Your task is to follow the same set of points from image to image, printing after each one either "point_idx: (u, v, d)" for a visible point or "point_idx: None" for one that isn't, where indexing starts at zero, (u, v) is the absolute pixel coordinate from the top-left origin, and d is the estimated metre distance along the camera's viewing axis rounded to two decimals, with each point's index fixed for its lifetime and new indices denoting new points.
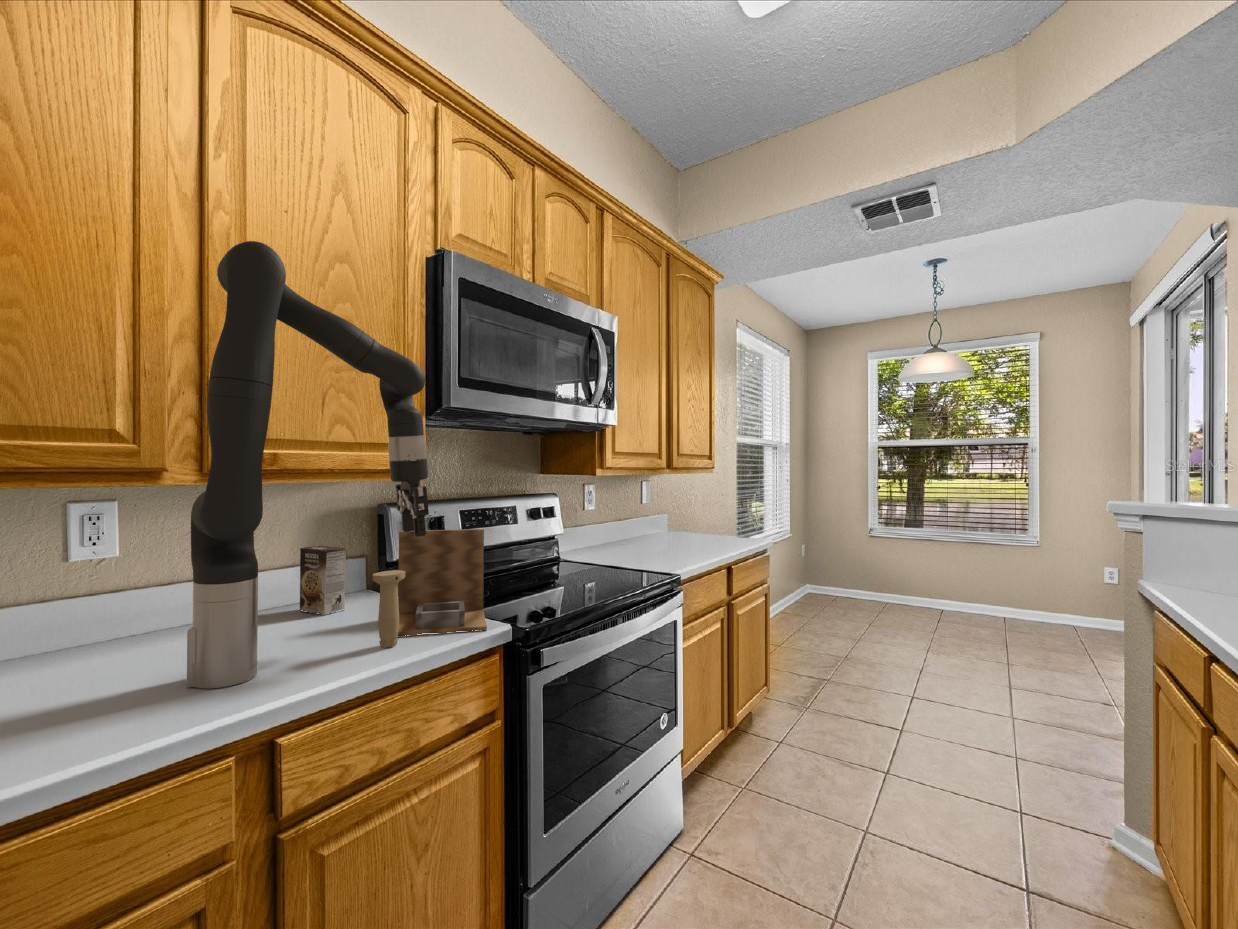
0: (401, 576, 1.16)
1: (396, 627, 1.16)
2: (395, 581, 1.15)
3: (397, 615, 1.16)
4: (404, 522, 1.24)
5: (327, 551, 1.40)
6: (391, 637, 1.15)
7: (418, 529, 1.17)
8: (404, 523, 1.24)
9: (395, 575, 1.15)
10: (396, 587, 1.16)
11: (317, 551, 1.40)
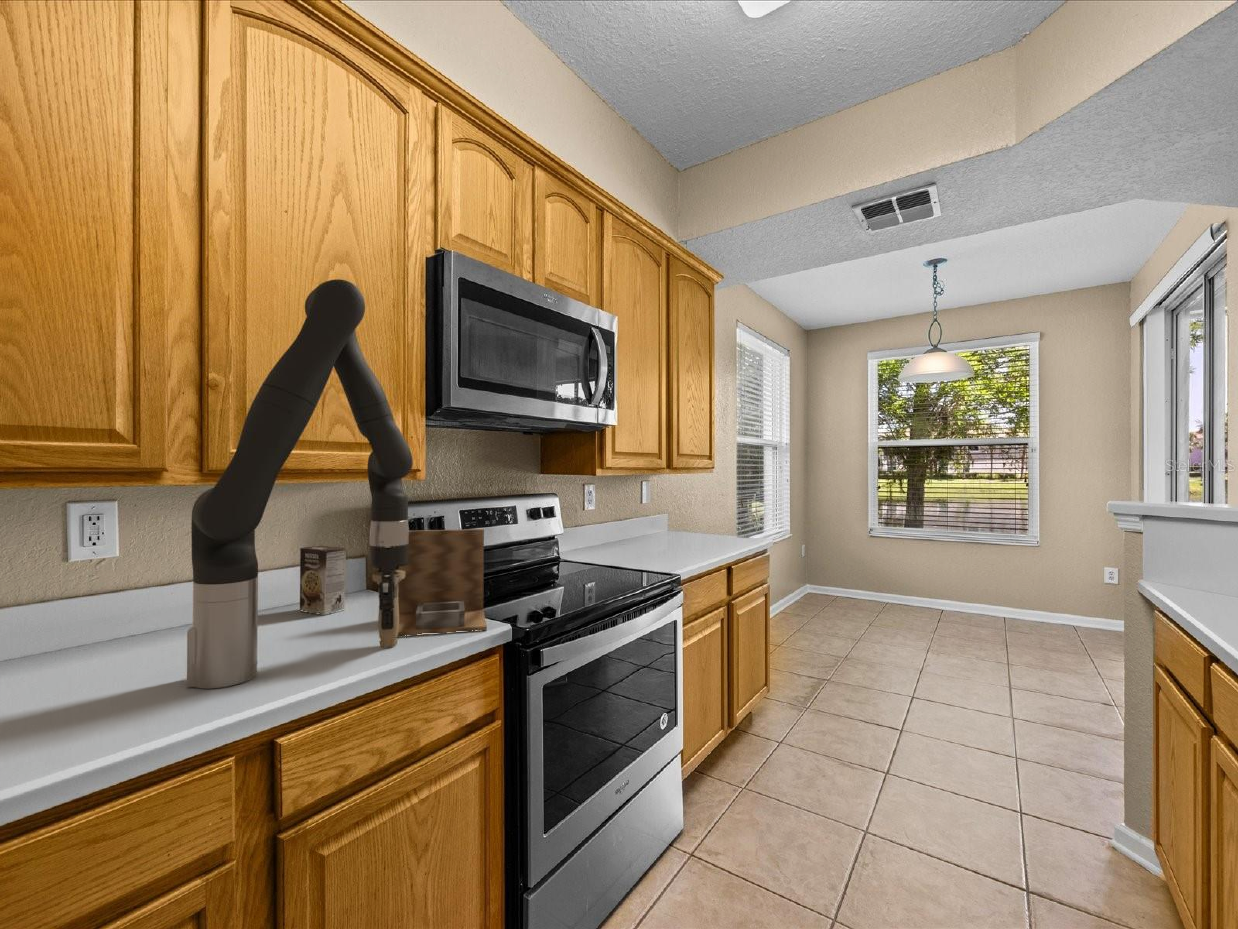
0: (401, 576, 1.16)
1: (396, 627, 1.16)
2: None
3: (397, 615, 1.16)
4: None
5: (327, 551, 1.40)
6: (391, 637, 1.15)
7: (384, 622, 1.13)
8: None
9: (395, 575, 1.15)
10: None
11: (317, 551, 1.40)
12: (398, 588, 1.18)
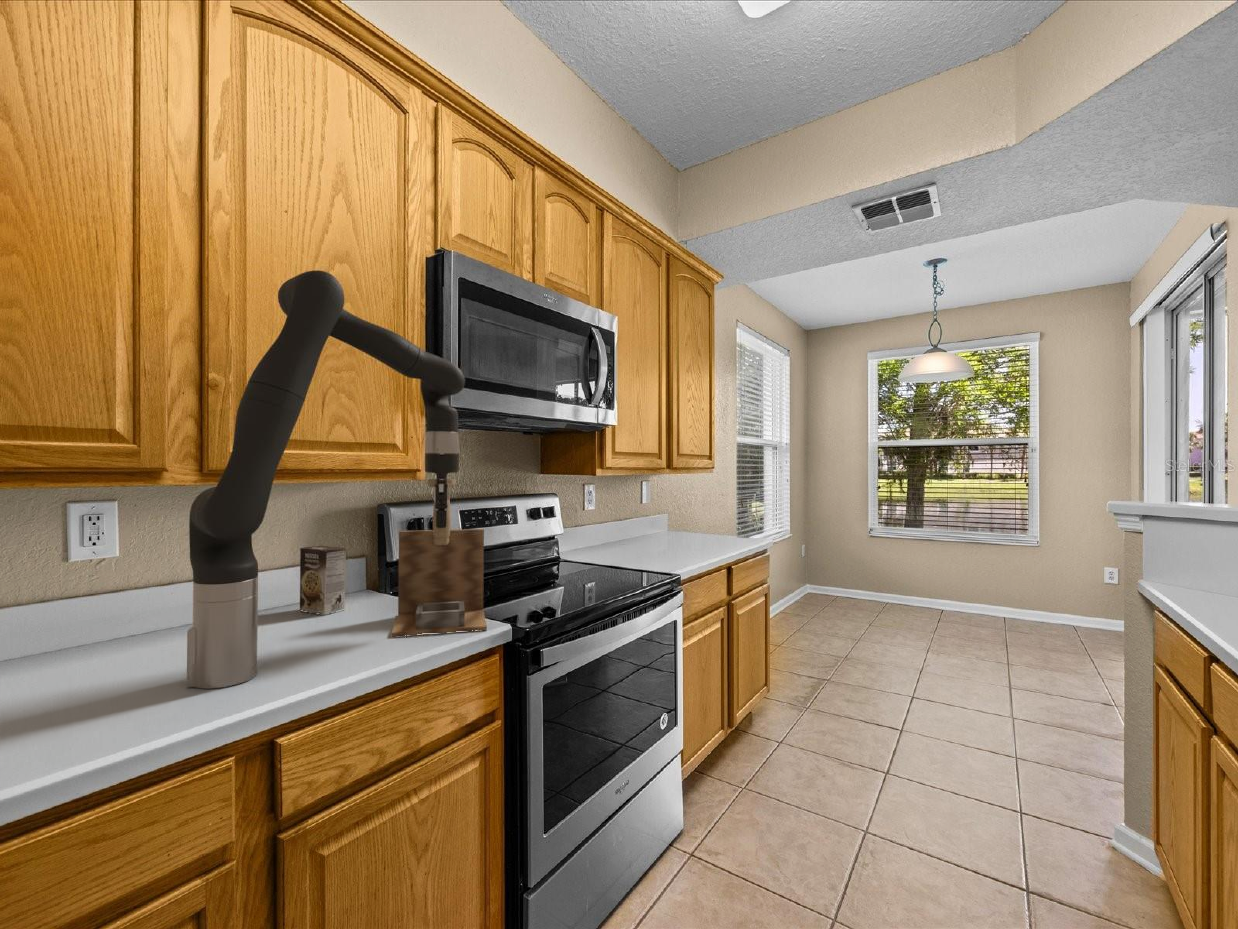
0: (453, 482, 1.31)
1: (448, 527, 1.30)
2: None
3: (449, 517, 1.31)
4: None
5: (327, 551, 1.40)
6: (444, 535, 1.30)
7: (438, 521, 1.28)
8: None
9: (448, 480, 1.29)
10: None
11: (317, 551, 1.40)
12: (449, 494, 1.33)
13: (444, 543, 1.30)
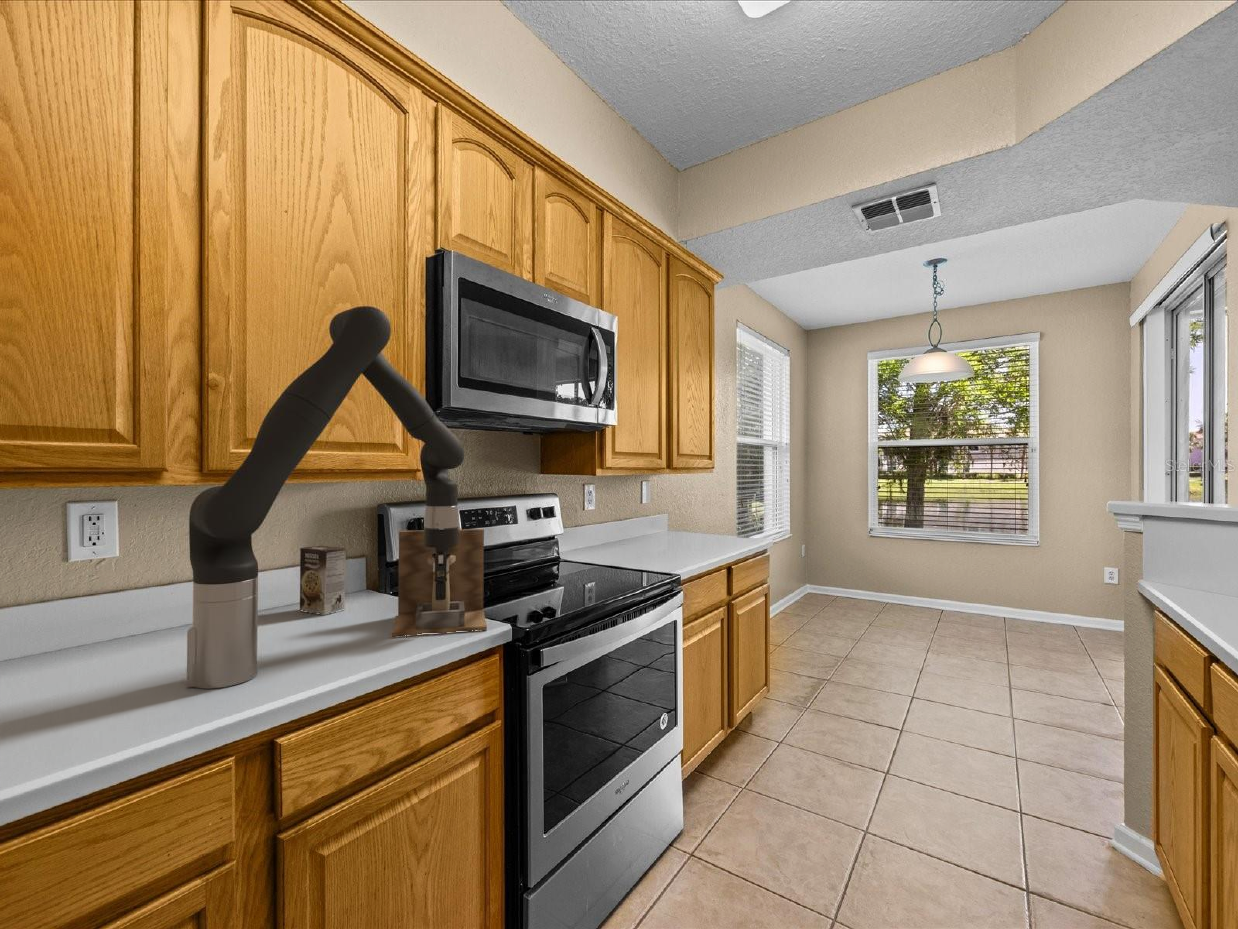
0: (452, 559, 1.31)
1: (447, 605, 1.30)
2: None
3: (448, 594, 1.31)
4: None
5: (327, 551, 1.40)
6: None
7: (438, 594, 1.26)
8: None
9: None
10: None
11: (317, 551, 1.40)
12: None
13: None
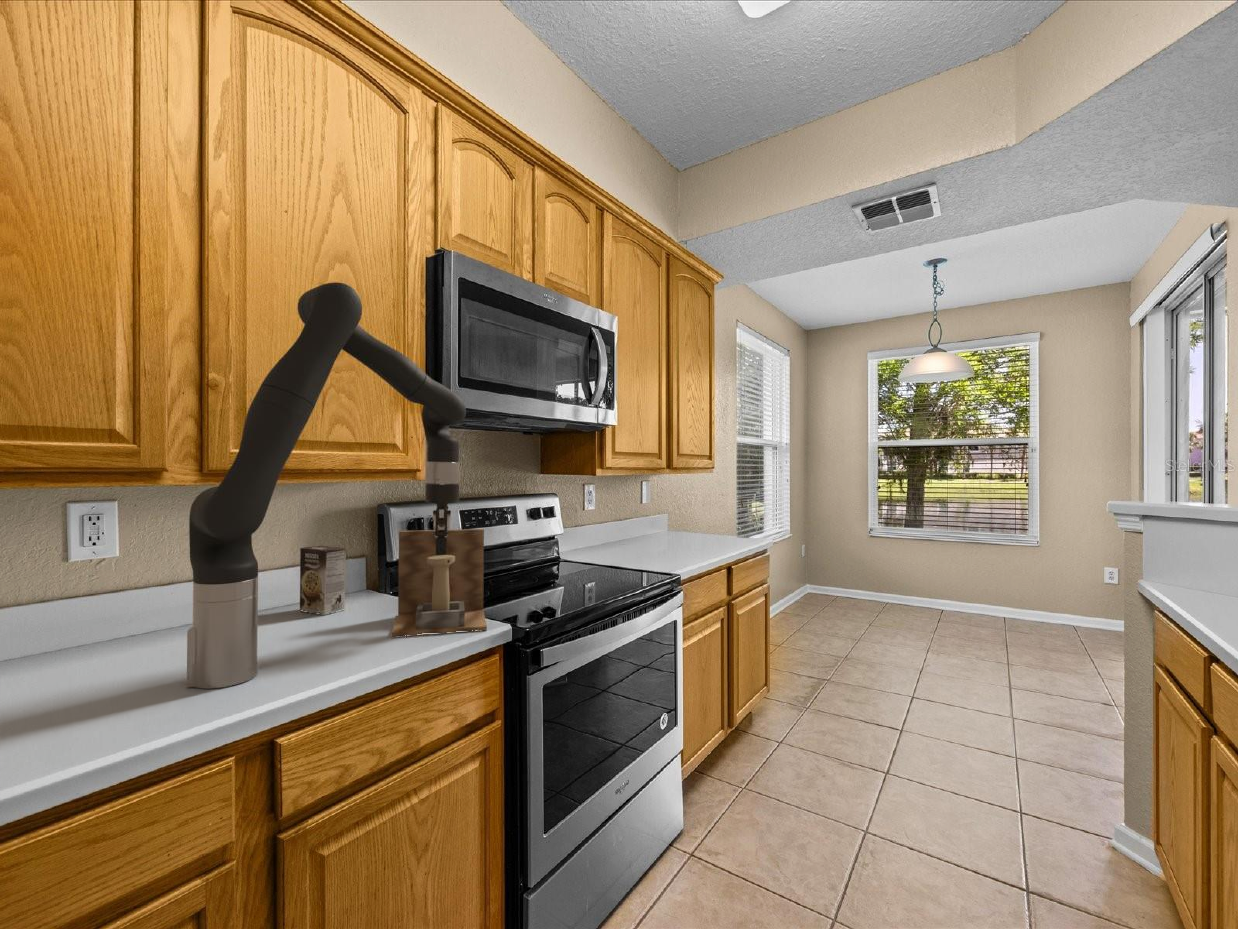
0: (452, 559, 1.31)
1: (447, 605, 1.30)
2: (447, 564, 1.29)
3: (448, 594, 1.31)
4: None
5: (327, 551, 1.40)
6: None
7: (438, 548, 1.26)
8: None
9: (447, 559, 1.29)
10: (447, 569, 1.31)
11: (317, 551, 1.40)
12: (449, 522, 1.34)
13: None
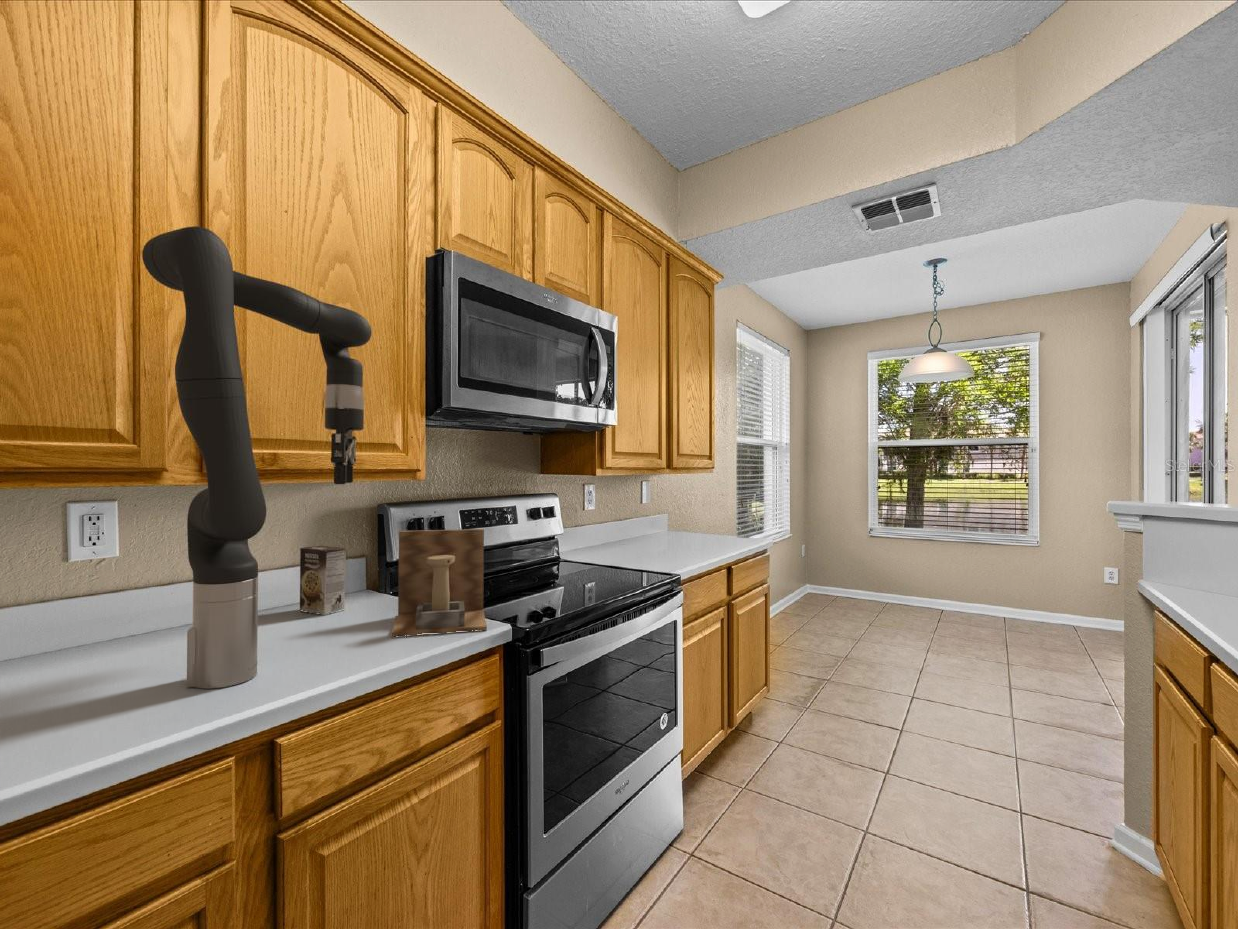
0: (452, 559, 1.31)
1: (447, 605, 1.30)
2: (447, 564, 1.29)
3: (448, 594, 1.31)
4: None
5: (327, 551, 1.40)
6: None
7: (336, 476, 1.16)
8: None
9: (447, 559, 1.29)
10: (447, 570, 1.31)
11: (317, 551, 1.40)
12: (354, 453, 1.24)
13: None
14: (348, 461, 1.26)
